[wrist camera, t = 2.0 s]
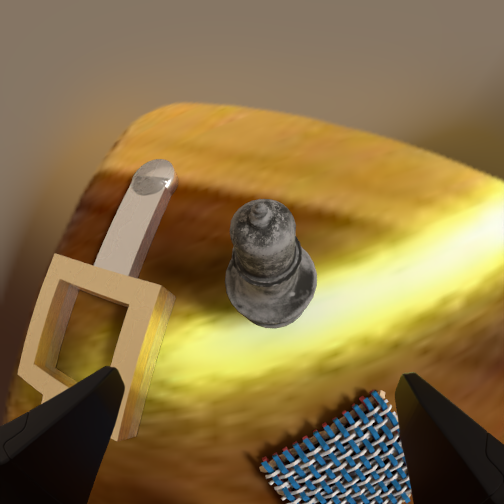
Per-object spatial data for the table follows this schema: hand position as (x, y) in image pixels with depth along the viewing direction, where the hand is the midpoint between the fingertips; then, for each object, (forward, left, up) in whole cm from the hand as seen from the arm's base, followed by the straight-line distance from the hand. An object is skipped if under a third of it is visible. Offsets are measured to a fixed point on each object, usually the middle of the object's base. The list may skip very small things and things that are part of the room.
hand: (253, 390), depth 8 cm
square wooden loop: (-11, +13, -12) cm, 21 cm away
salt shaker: (+6, +3, -13) cm, 14 cm away
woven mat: (-4, -9, -13) cm, 16 cm away
